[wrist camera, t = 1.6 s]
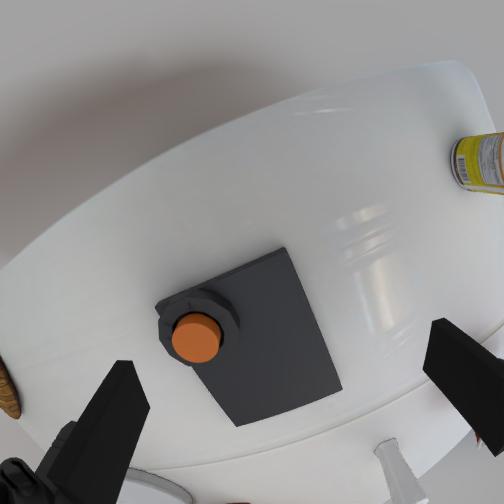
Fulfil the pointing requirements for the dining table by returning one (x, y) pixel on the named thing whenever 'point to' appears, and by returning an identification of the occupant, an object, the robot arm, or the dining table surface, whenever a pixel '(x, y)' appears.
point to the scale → (256, 340)
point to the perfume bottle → (399, 475)
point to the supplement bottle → (480, 163)
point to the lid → (150, 490)
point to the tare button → (196, 338)
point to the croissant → (8, 395)
